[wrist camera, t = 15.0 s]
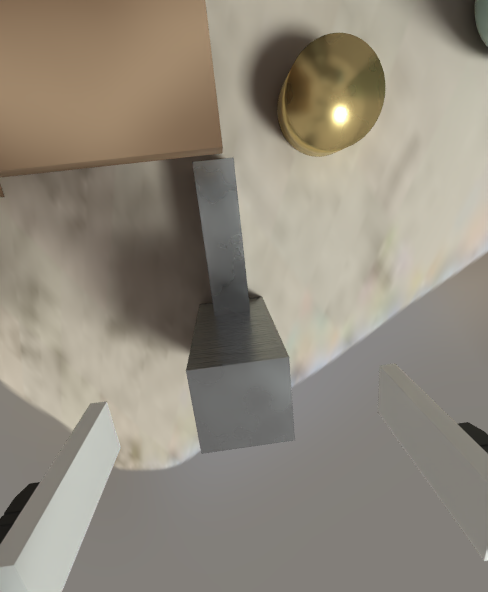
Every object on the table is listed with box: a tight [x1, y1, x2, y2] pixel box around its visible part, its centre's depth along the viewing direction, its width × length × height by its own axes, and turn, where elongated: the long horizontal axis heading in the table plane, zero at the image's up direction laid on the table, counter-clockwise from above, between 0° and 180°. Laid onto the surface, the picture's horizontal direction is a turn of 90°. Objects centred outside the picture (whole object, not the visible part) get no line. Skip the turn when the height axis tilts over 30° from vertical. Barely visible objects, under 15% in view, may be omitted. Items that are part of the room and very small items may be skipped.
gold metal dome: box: [277, 33, 385, 157], centre depth 19 cm, size 6×6×3 cm
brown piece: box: [0, 0, 223, 197], centre depth 14 cm, size 14×16×10 cm
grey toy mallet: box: [186, 158, 295, 454], centre depth 19 cm, size 15×5×10 cm, turn 6°
